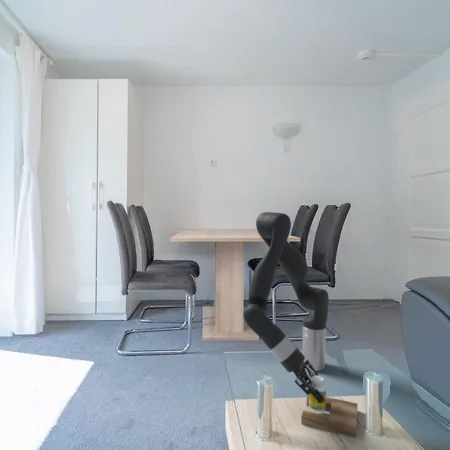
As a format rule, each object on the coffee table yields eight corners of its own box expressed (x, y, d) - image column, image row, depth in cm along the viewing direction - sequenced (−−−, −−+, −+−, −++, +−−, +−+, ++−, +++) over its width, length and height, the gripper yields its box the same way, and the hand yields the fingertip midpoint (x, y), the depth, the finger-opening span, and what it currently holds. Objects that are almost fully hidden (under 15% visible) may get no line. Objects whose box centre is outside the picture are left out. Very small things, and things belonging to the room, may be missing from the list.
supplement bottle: (316, 400, 120) (317, 372, 119) (329, 408, 115) (330, 379, 114) (305, 405, 117) (305, 377, 116) (317, 413, 112) (318, 384, 111)
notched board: (308, 400, 124) (308, 393, 124) (357, 410, 118) (357, 403, 118) (301, 423, 111) (301, 416, 111) (355, 436, 105) (356, 428, 105)
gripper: (291, 356, 111) (329, 401, 107) (299, 339, 124) (334, 379, 120) (274, 369, 113) (311, 414, 109) (284, 351, 126) (317, 390, 123)
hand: (323, 395), depth 115 cm, fingers closed on supplement bottle, 5 cm apart
